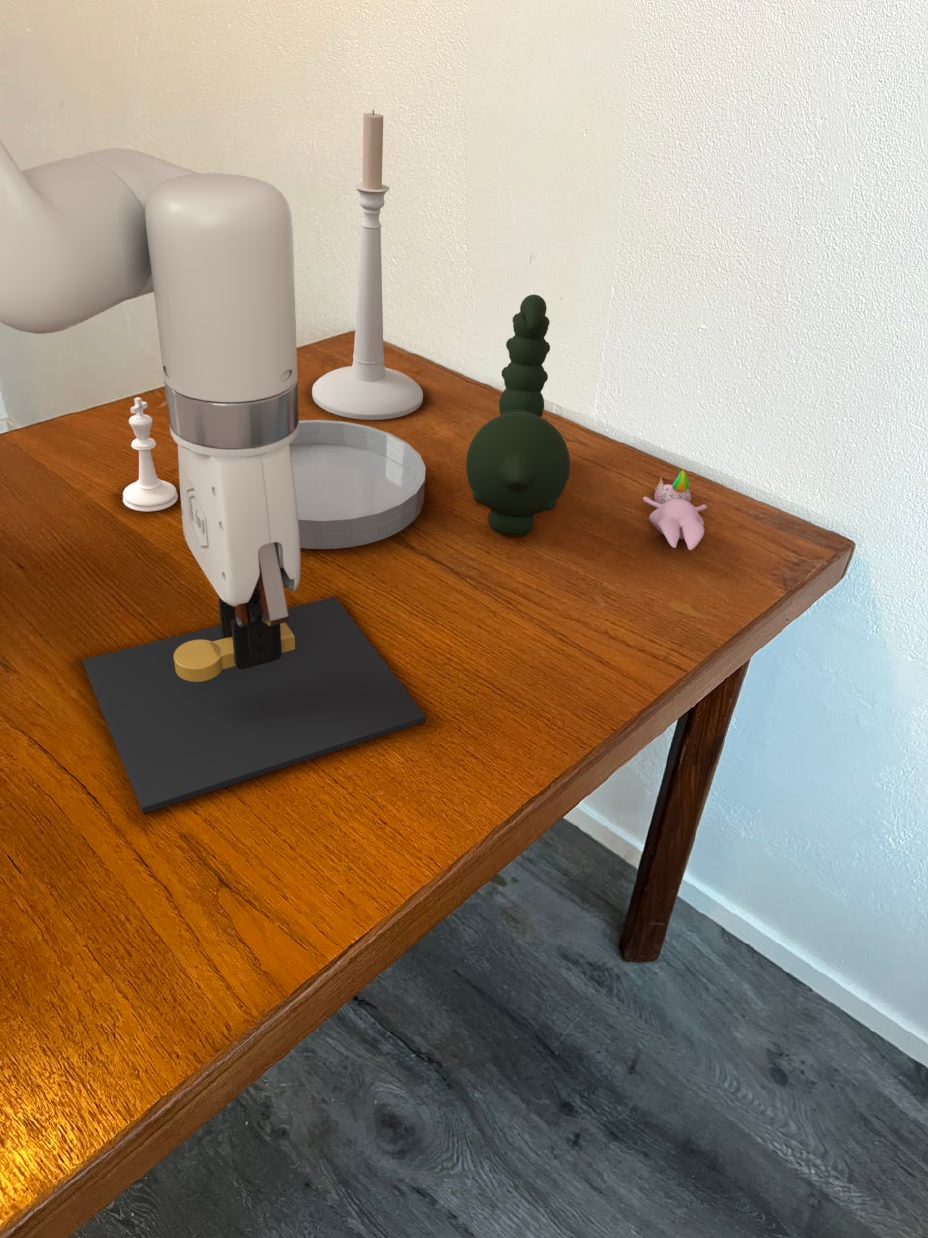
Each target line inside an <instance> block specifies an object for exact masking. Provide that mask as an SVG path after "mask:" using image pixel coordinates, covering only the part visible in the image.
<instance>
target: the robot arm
mask: <svg viewBox="0 0 928 1238" xmlns="http://www.w3.org/2000/svg"><path fill="white" fill-rule="evenodd" d="M292 217H293V216H292V212H291V208H290V205H289V202H288V201H287V198H286V197H285V195H284V193H282V191H280V190H279V189H278V188H277V187H275V185H273V184H271V183H269V182H266V181H263V180H261V179H259V178H255V177H251V176H247V175H240V174H231V173H217V172H216V173H215V172H214V173H212V172H211V173H210V172H208V173H207V172H206V173H205V172H204V173H203V172H202V173H201V172H198V171H194V170H192V169H189V168H186V167H183V166H180V165H177V164H174V163H172V162H170V161H166V160H165V159H161V158H159V157H156V156H153V155H151V154H149V153H145V152H142V151H138V150H134V149H129V148H128V149H127V148H118V147H117V148H114V147H113V148H112V147H111V148H104V149H103V148H102V149H98V150H93V151H90V152H87V153H83V154H81V155H80V154H79V155H76V156H73V157H69V158H63V159H57V160H55V161H51V162H48V163H44V164H40V165H37V166H34V167H30V168H26V169H24V170H21V168H20V167H19V165H18V163H16V161H15V159H14V158H13V157H12V155H11V153H10V151H8V149H7V147H6V146H5V144H4V142H3V141H2V139H0V323H1V324H3V325H5V326H7V327H9V328H12V329H15V330H17V331H20V332H24V333H30V334H36V335H38V334H39V335H40V334H41V335H44V334H53V333H59V332H63V331H65V330H67V329H69V328H72V327H74V326H77V325H78V324H81V323H84V322H85V321H87V320H90V319H91V318H93V317H95V316H98V315H100V314H102V313H103V312H106V311H107V310H109V309H111V308H113V307H115V306H117V305H120V304H121V303H123V302H125V301H128V300H132V299H135V298H139V297H142V296H145V295H148V294H152V293H153V297H154V305H155V313H156V322H157V330H158V338H159V348H160V355H161V356H160V357H161V365H162V373H163V377H164V379H163V383H164V391H165V400H166V408H167V417H168V418H167V419H168V425H169V433H170V436H171V438H172V440H173V441H174V442H175V443H176V445H177V460H178V461H177V462H178V464H177V465H178V479H179V480H178V481H179V495H180V507H181V508H180V509H181V520H182V521H181V523H182V532H183V537H184V539H185V542H186V545H187V547H188V548H189V550H190V552H191V553H192V555H193V557H194V559H195V560H196V562H197V564H198V566H200V568H201V571H202V572H203V574H204V575H205V576H206V578H207V580H208V582H209V583H210V585H211V586H212V588H213V589H214V591H215V592H216V594H217V595H218V596H219V598H218V599H217V601H218V602H217V603H218V611H219V622H220V625H221V633H222V639H224V638H229V637H232V638H233V650H234V661H235V664H236V666H237V668H238V669H241V670H242V669H246V668H250V667H253V666H257V665H260V664H264V663H268V662H271V661H275V660H278V659H279V658H280V657H281V656H282V650H281V631H280V623H284V622H288V621H289V616H288V610H287V608H288V605H287V599H286V594H285V588H286V590H288V591H289V592H290V593H294V592H295V591H296V590H297V588H298V587H299V585H300V580H301V563H302V561H301V560H302V559H301V548H300V537H299V523H298V512H297V502H296V492H295V484H294V475H293V468H292V461H291V454H290V447H289V444H290V443H291V442H292V441H293V440H294V439H295V438H296V437H297V435H298V433H299V421H300V417H299V416H300V415H299V413H300V412H299V386H298V385H299V384H298V354H297V349H298V348H297V347H298V346H297V319H296V316H297V313H296V287H295V286H296V285H295V283H296V282H295V259H294V257H295V256H294V255H295V254H294V229H293V218H292ZM284 587H285V588H284Z"/></svg>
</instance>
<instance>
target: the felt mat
mask: <svg viewBox="0 0 928 1238" xmlns="http://www.w3.org/2000/svg"><path fill="white" fill-rule="evenodd" d="M287 610H288V616H289V621H288V622H284V623H286V624H287V626H288V627H289V629H290V630H291V632H292V633H293V635H294V636H295V649H294V650H291V651H287V652H283V653H282V656H281V657H280V658H279V659H278V660H275V661H271V662H268V663H264V664H260V665H257V666H253V667H250V668H246V669H242V670H241V669H238V668H237V666H233V667H229V668H226V669H222V671H221V672H220V674H218V675H217V676H216V677H214V678H212V679H210V680H207V681H202V682H191V681H187V680H184V679H182V678H181V677H179V676H178V675H177V673H176V671H175V664H174V653H175V651H176V649H177V648H178V647H179V646H181V645H182V644H184V643H186V642H189V641H193V640H209V641H212V642H213V641H217V640H220V639H222V633H221V624H220V625H215V626H211V627H208V628H203V629H200V630H196V631H192V632H187V633H184V634H180V635H175V636H172V637H167V638H164V639H159V640H156V641H152V642H147V643H144V644H139V645H136V646H131V647H128V648H124V649H119V650H116V651H113V652H107V653H104V654H99V655H96V656H92V657H88V658H84V659H82V666H83V668H84V671H85V673H86V675H87V678H88V680H89V683H90V685H91V688H92V690H93V693H94V695H95V698H96V700H97V703H98V705H99V708H100V710H101V713H102V716H103V718H104V720H105V723H106V725H107V728H108V730H109V733H110V735H111V738H112V740H113V743H114V745H115V748H116V751H117V753H118V755H119V757H120V760H121V762H122V763H121V764H122V765H123V768H124V770H125V773H126V776H127V777H128V780H129V782H130V786H131V788H132V790H133V793H134V795H135V797H136V800H137V803H138V805H139V808H140V810H141V813H142V814H149V813H151V812H153V811H158V810H161V809H164V808H166V807H170V806H173V805H176V804H178V803H182V802H184V801H187V800H191V799H194V798H197V797H199V796H203V795H206V794H209V793H213V792H215V791H218V790H221V789H224V788H227V787H230V786H233V785H237V784H240V783H243V782H246V781H249V780H253V779H255V778H258V777H261V776H264V775H267V774H270V773H273V772H277V771H280V770H282V769H285V768H289V767H291V766H295V765H298V764H301V763H303V762H304V763H305V762H307V761H310V760H313V759H316V758H320V757H323V756H325V755H328V754H332V753H335V752H338V751H341V750H344V749H347V748H350V747H353V746H357V745H360V744H363V743H365V742H368V741H369V742H370V741H372V740H374V739H378V738H380V737H381V738H382V737H384V736H386V735H389V734H393V733H396V732H400V731H402V730H405V729H409V728H411V727H414V726H417V725H420V724H423V723H426V721H427V715H426V714H425V712H424V711H423V710H422V709H421V707H420V706H419V704H418V703H417V702H416V701H415V700H414V698H413V696H411V694H410V693H409V692H408V690H407V689H406V687H405V686H404V685H403V684H402V682H401V681H400V680H399V678H398V677H397V676H396V674H395V673H394V672H393V670H392V669H391V668H390V667H389V665H388V664H387V663H386V662H385V659H383V657H382V656H381V654H379V652H378V651H377V649H376V648H375V647H374V646H373V644H372V643H371V642H370V641H369V639H368V638H367V636H366V635H365V634H364V632H362V630H361V629H360V628H359V626H358V625H357V624H356V622H355V621H354V620H353V618H352V617H351V615H350V614H349V613H348V612H347V610H346V609H345V608H344V607H343V605H342V604H341V603H340V601H339V600H338V599H337V597H336V596H332V597H326V598H323V599H319V600H316V601H312V602H308V603H304V604H299V605H295V606H291V607H287ZM280 624H281V623H280Z"/></svg>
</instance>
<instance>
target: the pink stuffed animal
mask: <svg viewBox="0 0 928 1238" xmlns="http://www.w3.org/2000/svg"><path fill="white" fill-rule="evenodd" d="M689 487H690V486H689V479H688V474H687V473H686V471H685V470H681V471H680V472H679V474H678V476H677V477H676V479H675V480H674V481H673V483H672V484H667V483H666V484H664V481H663V480H662V477H660V478H659V482H658V484H657V485H656V487H655V489H654V490H653V491H654V500H653V499H651V498H649V497H648V496H643V497H642V501H643V503H646V504H648V505H650V506H652V507H653V508H656V509H655V510H653V511H652V512H651V513H650V514H649V515H648V516H649V517H648V520H649V522H650V523H651V524H652V525H653V526H654V527H655V528H656V530H658V532H659V533H661V534H662V535H663V536H664V537H665V538H666V541H667V543H668V545H670V547H671V548H673V549H676V548H677V545H678V542H679V540H684V541H685V543H686V547H687V549H688V551H693V550H694V549H695V548H696V547H697V546H698V545H699V543H700V542H701V540H702V539H703V537H704V535H705V527H704V525H705V522H704V519H703V517H702V516H701V515H700V513H699V512H702V511H705V510H707V509H708V506H707V505H706V504H700V505H698V506H695V505H693V503H691V501H692V494H691V491H690V489H689Z"/></svg>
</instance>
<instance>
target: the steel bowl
mask: <svg viewBox="0 0 928 1238" xmlns="http://www.w3.org/2000/svg"><path fill="white" fill-rule="evenodd" d="M289 447H290V454H291V461H292V468H293V475H294V484H295V492H296V502H297V512H298V523H299V537H300V549H307V550H338V549H347V548H353V547H359V546H364V545H368V544H371V543H375V542H379V541H381V540H382V541H383V540H384V539H388V538H390V537H391V536H393V535H395V534H398V533H400V532H401V531H403V530H404V529H406V528H407V527H408V526H410V524H412V523H413V522H414V521H415V520H416V518H418V516H419V515H420V513H421V511H422V509H423V507H424V503H425V490H426V489H425V488H426V472H427V467H426V464H425V463H424V460H423V458H422V456H421V454H420V453H419V452H418V451H417V450H416V449H415V448H414V447H413V446H411V445H410V444H409V443H408V442H407V441H405V440H403V439H401V438H399V437H397V436H395V435H394V434H392V433H390V432H388V431H387V432H386V431H383V430H381V429H378V428H375V427H372V426H369V425H364V424H358V423H355V422H349V421H340V420H339V421H338V420H327V419H308V420H307V419H306V420H299V433H298V435H297V437H296V438H295V439H294V440H293V441H292V442H291V443H290V444H289Z"/></svg>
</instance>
